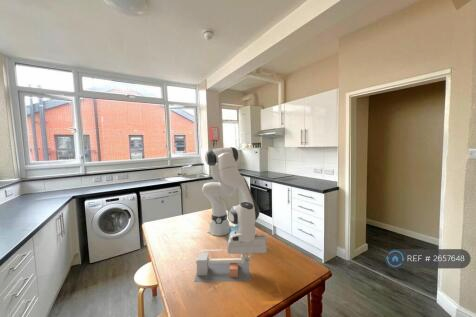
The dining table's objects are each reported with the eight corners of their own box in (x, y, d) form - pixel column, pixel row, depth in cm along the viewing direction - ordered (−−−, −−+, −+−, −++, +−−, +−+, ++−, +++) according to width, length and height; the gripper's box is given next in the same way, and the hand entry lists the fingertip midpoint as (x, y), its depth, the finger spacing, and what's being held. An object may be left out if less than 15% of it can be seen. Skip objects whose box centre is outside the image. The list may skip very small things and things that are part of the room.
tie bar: (197, 261, 100) (196, 255, 100) (243, 260, 100) (243, 254, 100) (195, 264, 97) (195, 258, 97) (243, 263, 97) (243, 257, 97)
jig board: (199, 263, 107) (199, 248, 106) (248, 262, 107) (248, 247, 107) (194, 284, 91) (193, 266, 90) (250, 282, 91) (250, 264, 91)
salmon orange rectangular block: (230, 264, 104) (230, 257, 104) (237, 264, 104) (237, 257, 104) (229, 277, 94) (229, 269, 94) (237, 276, 94) (237, 268, 94)
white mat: (200, 250, 120) (200, 249, 120) (222, 250, 121) (222, 249, 121) (196, 262, 108) (196, 261, 107) (221, 262, 108) (221, 261, 108)
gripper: (265, 231, 102) (265, 256, 103) (227, 232, 101) (227, 257, 102) (268, 237, 96) (267, 263, 96) (227, 237, 95) (227, 264, 96)
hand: (246, 260), depth 99 cm, fingers closed
